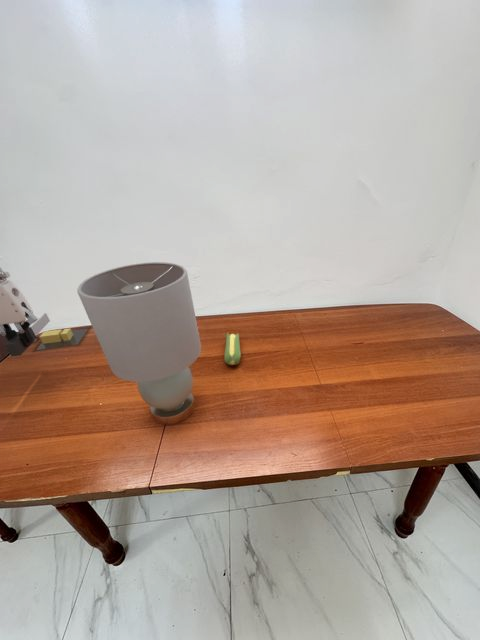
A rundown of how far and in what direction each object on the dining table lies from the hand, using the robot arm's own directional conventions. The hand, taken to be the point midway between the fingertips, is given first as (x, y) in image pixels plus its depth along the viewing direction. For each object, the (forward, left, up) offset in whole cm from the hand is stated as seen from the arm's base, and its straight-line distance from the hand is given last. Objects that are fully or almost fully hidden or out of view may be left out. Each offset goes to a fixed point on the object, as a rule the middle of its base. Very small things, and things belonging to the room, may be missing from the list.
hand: (23, 344), depth 79 cm
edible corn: (+56, +4, -15) cm, 58 cm away
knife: (0, +5, -1) cm, 6 cm away
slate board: (-5, +27, -15) cm, 31 cm away
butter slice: (-3, +27, -13) cm, 30 cm away
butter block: (-8, +27, -13) cm, 31 cm away
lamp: (+38, -19, -15) cm, 45 cm away
